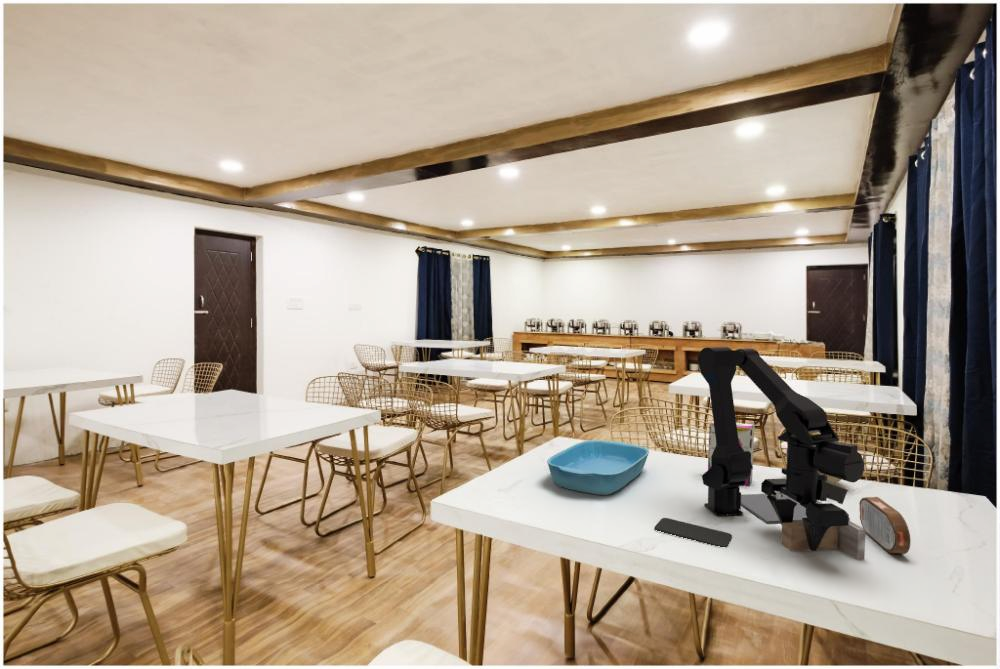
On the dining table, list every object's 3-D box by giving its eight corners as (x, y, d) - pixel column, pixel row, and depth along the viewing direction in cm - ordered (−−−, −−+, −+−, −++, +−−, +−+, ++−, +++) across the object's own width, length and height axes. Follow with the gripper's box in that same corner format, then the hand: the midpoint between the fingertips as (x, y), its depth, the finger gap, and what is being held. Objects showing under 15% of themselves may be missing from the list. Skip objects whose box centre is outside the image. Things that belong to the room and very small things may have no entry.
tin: (911, 562, 98) (913, 519, 98) (892, 560, 99) (894, 517, 98) (871, 528, 113) (873, 491, 113) (855, 527, 114) (857, 490, 113)
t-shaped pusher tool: (806, 562, 98) (807, 531, 98) (768, 534, 110) (768, 507, 110) (864, 559, 99) (865, 529, 99) (820, 532, 111) (821, 505, 111)
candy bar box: (707, 479, 145) (708, 422, 144) (710, 474, 149) (711, 419, 148) (750, 487, 139) (752, 427, 138) (752, 481, 143) (754, 423, 142)
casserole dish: (589, 456, 168) (589, 434, 167) (657, 468, 156) (657, 445, 155) (533, 489, 137) (534, 463, 137) (613, 508, 125) (613, 479, 124)
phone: (726, 547, 103) (652, 528, 112) (726, 551, 103) (652, 531, 112) (733, 534, 109) (663, 516, 118) (733, 537, 109) (662, 520, 118)
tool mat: (767, 523, 115) (767, 521, 115) (729, 497, 131) (729, 494, 131) (849, 520, 117) (849, 517, 117) (802, 494, 133) (802, 492, 133)
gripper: (877, 481, 95) (874, 562, 96) (808, 452, 113) (805, 520, 114) (821, 483, 94) (818, 565, 95) (760, 453, 112) (758, 522, 113)
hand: (800, 541), depth 104 cm, fingers open, 7 cm apart
